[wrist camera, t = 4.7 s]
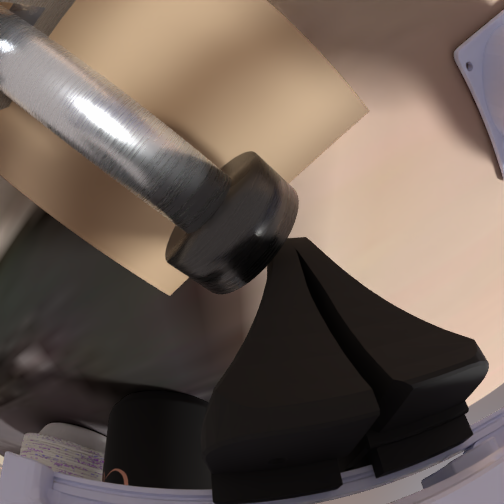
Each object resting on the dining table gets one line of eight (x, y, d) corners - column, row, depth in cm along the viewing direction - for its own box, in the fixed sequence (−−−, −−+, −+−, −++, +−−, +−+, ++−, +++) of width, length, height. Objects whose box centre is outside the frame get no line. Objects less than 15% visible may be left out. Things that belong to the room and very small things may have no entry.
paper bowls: (56, 446, 32) (49, 490, 25) (9, 397, 24) (-7, 455, 17) (150, 462, 34) (149, 511, 28) (127, 422, 26) (121, 493, 19)
